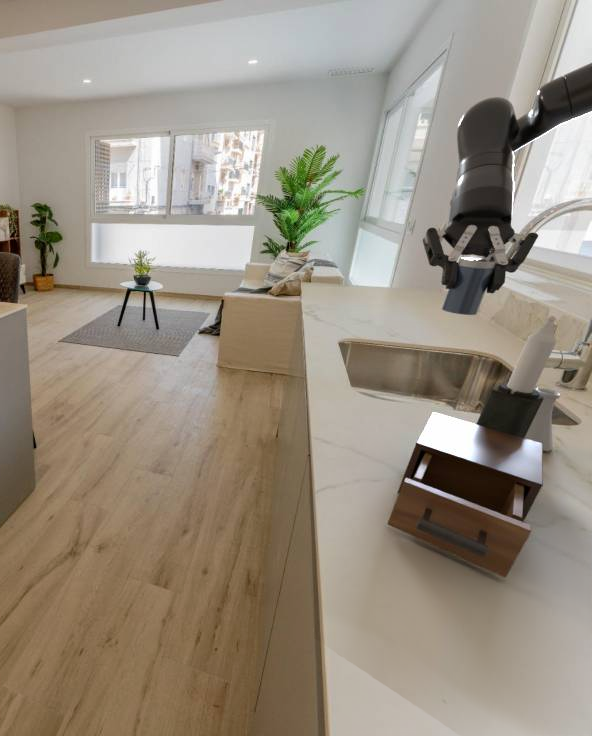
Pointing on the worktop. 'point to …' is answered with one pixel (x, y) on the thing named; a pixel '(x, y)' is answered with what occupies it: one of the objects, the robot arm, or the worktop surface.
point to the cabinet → (482, 453)
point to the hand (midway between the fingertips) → (471, 287)
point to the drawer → (463, 512)
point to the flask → (543, 420)
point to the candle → (520, 387)
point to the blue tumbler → (469, 286)
